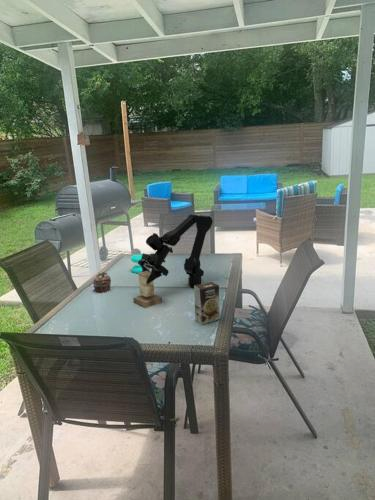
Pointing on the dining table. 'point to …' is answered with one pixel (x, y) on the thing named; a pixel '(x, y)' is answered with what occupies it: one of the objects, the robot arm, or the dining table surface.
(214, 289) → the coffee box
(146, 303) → the walnut slab
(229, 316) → the dining table surface
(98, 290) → the cupcake
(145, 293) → the maple block
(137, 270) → the cyan spool
